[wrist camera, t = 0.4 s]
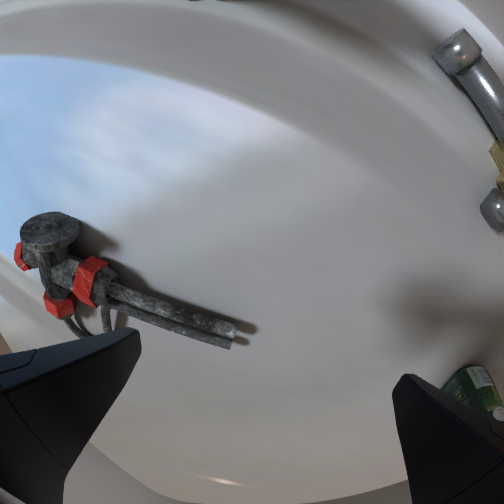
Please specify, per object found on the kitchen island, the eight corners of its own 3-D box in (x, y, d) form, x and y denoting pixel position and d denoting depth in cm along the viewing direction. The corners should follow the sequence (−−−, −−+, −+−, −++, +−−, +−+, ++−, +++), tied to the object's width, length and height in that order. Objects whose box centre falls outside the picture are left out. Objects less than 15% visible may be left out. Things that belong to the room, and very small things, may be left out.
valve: (47, 296, 30) (31, 196, 22) (220, 369, 30) (255, 270, 23) (21, 324, 24) (-9, 219, 17) (208, 413, 25) (244, 322, 17)
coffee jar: (450, 412, 26) (483, 510, 8) (415, 412, 26) (445, 528, 9) (492, 363, 22) (546, 462, 5) (461, 358, 22) (521, 481, 5)
